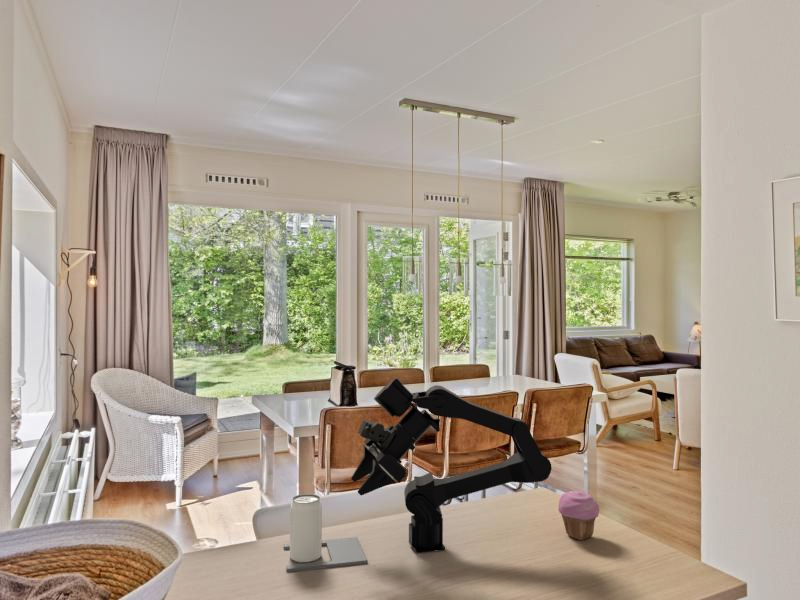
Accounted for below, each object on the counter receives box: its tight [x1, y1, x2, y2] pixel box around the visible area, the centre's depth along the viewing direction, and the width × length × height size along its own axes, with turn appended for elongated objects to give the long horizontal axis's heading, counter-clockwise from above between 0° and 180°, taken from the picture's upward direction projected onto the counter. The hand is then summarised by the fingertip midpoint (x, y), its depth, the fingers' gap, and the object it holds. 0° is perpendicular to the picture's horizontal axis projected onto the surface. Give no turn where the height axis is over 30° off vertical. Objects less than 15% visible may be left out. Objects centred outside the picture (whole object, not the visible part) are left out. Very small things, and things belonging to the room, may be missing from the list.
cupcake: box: [557, 490, 600, 541], centre depth 127 cm, size 9×9×10 cm
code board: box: [283, 536, 369, 573], centre depth 117 cm, size 16×12×1 cm
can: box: [289, 493, 323, 564], centre depth 116 cm, size 6×6×12 cm
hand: (355, 486), depth 118 cm, fingers open, 9 cm apart
